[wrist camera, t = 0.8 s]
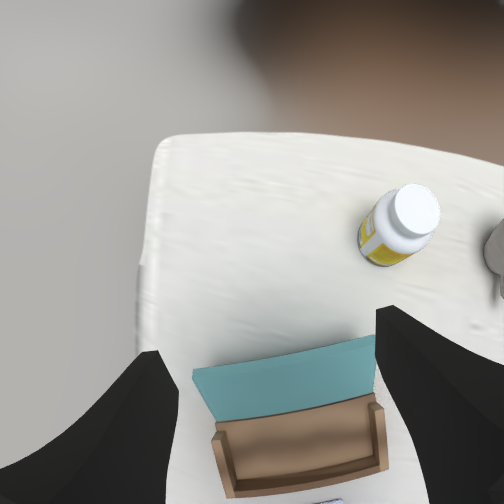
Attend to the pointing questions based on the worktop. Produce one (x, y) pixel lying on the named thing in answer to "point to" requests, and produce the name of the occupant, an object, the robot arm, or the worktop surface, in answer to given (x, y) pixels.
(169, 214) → the worktop surface
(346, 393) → the teal box lid
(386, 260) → the pill bottle
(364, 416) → the wooden box
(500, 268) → the mug
